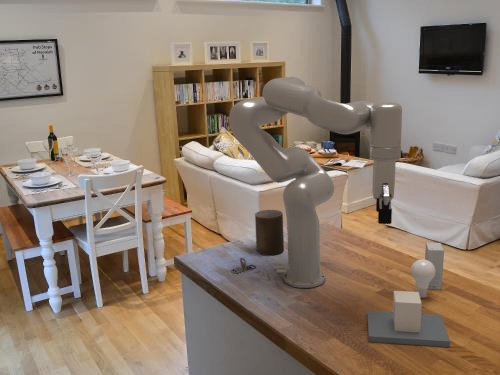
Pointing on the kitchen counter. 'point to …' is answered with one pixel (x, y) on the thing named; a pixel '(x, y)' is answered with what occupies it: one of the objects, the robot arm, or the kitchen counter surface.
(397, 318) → the cream block
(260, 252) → the pillar candle
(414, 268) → the lightbulb
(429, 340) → the post board
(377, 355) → the kitchen counter surface
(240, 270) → the strap clip
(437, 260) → the skincare box
